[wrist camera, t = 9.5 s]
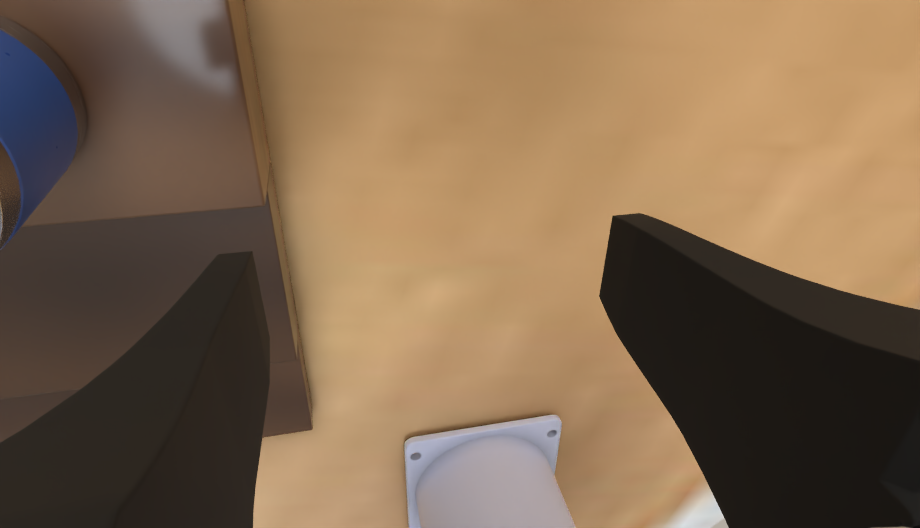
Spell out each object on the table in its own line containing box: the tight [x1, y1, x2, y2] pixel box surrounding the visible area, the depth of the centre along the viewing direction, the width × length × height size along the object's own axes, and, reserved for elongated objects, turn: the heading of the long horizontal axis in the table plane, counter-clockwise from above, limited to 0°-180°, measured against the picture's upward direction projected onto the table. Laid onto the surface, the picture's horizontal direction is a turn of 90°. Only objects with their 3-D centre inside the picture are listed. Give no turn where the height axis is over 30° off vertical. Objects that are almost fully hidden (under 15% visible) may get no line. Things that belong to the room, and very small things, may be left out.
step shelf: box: [0, 0, 313, 443], centre depth 19 cm, size 19×12×4 cm, turn 179°
